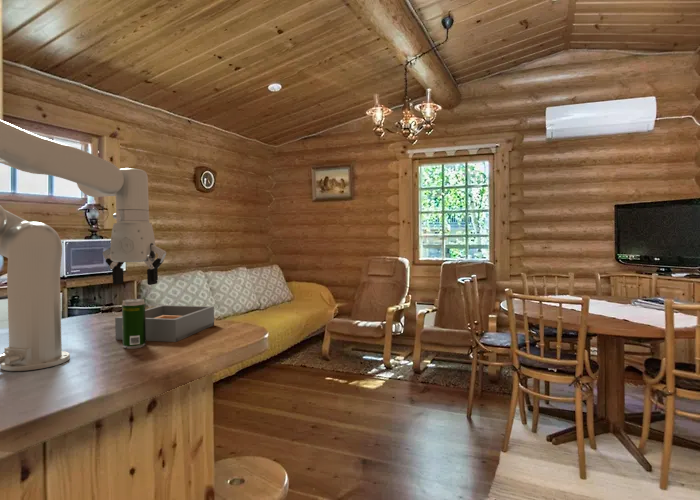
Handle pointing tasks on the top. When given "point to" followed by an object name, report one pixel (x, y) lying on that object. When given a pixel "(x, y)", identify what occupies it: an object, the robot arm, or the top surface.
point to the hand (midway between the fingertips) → (135, 284)
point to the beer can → (133, 323)
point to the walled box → (172, 322)
